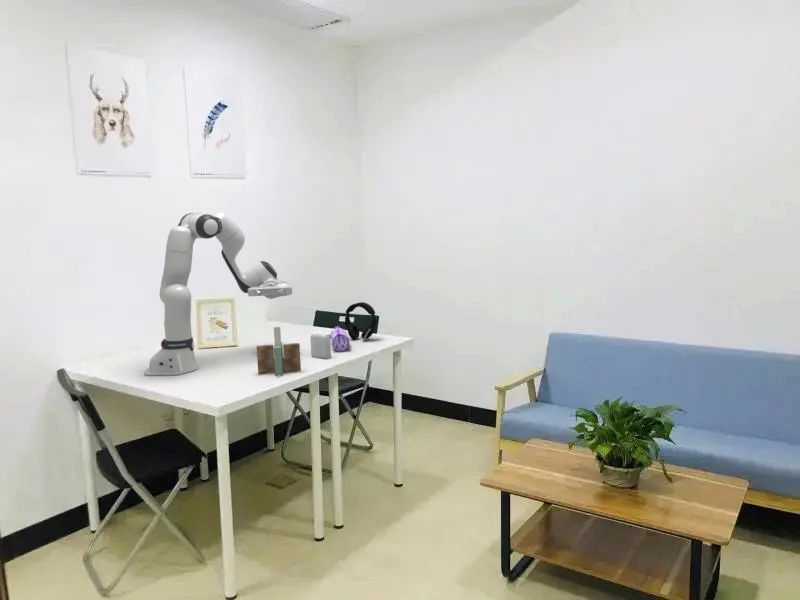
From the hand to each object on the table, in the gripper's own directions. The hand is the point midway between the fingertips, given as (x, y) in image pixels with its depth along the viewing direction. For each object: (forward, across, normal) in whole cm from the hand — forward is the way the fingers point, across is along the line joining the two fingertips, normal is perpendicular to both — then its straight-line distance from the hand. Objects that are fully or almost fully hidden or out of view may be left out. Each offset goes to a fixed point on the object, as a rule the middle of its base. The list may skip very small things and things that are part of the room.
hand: (269, 293), depth 281 cm
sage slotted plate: (+20, +4, +32) cm, 38 cm away
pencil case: (-21, +32, +32) cm, 50 cm away
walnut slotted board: (+20, +4, +32) cm, 38 cm away
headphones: (-36, +43, +32) cm, 65 cm away
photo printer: (-3, +22, +32) cm, 39 cm away
